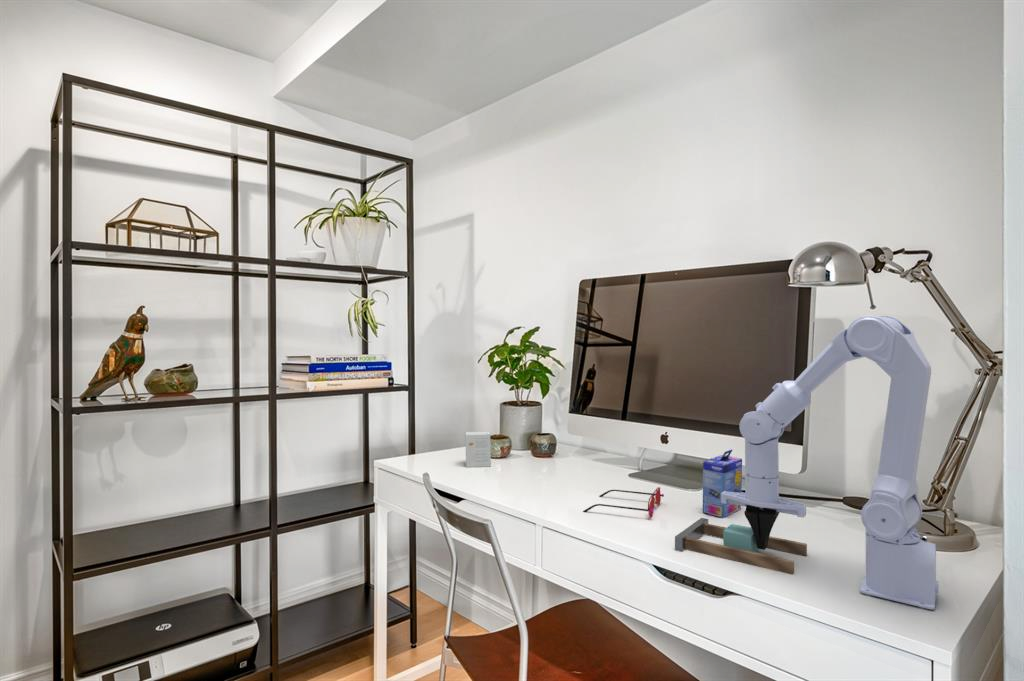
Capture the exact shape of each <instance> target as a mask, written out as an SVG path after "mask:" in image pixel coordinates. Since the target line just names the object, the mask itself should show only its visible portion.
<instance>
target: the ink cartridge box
mask: <svg viewBox="0 0 1024 681" xmlns="http://www.w3.org/2000/svg"><path fill="white" fill-rule="evenodd" d="M732 452H733V449H729V450H726V451H724V453H722V455H718V456H715V457H713V458H712V457H711V458H709V459H706V460H704V461H703V462H702V513H703V514H706V513H707V514H706V515H711V516H714V517H717V516H718V517H717V518H721V517H722V518H721V519H724V518H726V517H728V516H730V515H732V514H734V513H736V512H738V511H740V510H741V509H742V506H741V505H735V504H729V503H727V504H723V503H721V493H722V492H724V491H727V492H736V493H742V488H743V487H742V486H743V485H742V483H743V458H739V457H737V456H731V453H732Z"/></svg>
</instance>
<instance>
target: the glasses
mask: <svg viewBox="0 0 1024 681" xmlns="http://www.w3.org/2000/svg"><path fill="white" fill-rule="evenodd" d="M611 492H620V493H631V494H638V495H639V494H640V495H647V496H648V495H649V496H650V497H649V498H648V502H647V508H638V507H630V506H622V505H614V504H613V505H612V504H603V503H597V504H593V505H591V506H589V507H587V508H586V509H584V510H582V513H587V512H588V511H590V510H591V509H593V508H594V507H597V506H602V507H607V508H609V507H611V508H619V509H624V510H633V511H644V512H648V515H649V517H650V518H652V517H653V515H654V508H655V505H657V506H660V505H661V501H662V500H661V499H662V498H663V497H664V496H665V494H664V493H661V487H660V486H659V487H656V488H655V490H654V491H653V492H652V493H651V492H641V491H633V490H632V491H631V490H621V489H610V490H607V491H605V492H603V493H602V494H600V495H598V497H600V498H602V497H604V496H605V495H607V494H609V493H611Z"/></svg>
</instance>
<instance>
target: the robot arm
mask: <svg viewBox="0 0 1024 681" xmlns="http://www.w3.org/2000/svg"><path fill="white" fill-rule="evenodd" d="M862 358H866V359H868V360H870V361H872V362H874V363H876V365H878V366H879V368H881V369H882V370H883V371H884V372H885V373H886V374H887V375H888V376H889V378H890V385H889V391H888V392H889V393H888V400H887V404H886V405H887V407H886V414H885V418H884V419H885V421H884V428H883V433H882V434H883V436H882V442H881V449H880V457H879V463H878V471H877V476H876V479H875V481H874V483H873V485H872V487H871V492H870V497H869V499H868V501H867V502H866V503H865V504H864V505H863V506H862V508H861V512H860V518H861V522H862V524H863V526H864V528H865V530H864V531H865V532H864V533H865V534H864V535H865V536H864V537H865V575H864V578H863V581H862V583H861V586H860V589H859V592H860V593H861V594H865V595H868V596H872V597H873V596H874V597H878V598H882V599H885V600H889V601H895V602H896V603H897V602H898V603H903V604H906V605H910V606H915V607H919V608H923V609H927V610H931V611H933V610H935V606H936V599H937V594H939V581H938V580H937V547H936V546H937V545H936V543H933V542H930V541H929V542H928V541H925V540H922V539H921V535H920V534H919V532H918V530H917V528H916V527H915V526H916V525H917V524H918V523H919V522H920V520H921V519H922V516H923V509H922V508H923V507H922V505H921V503H920V501H919V496H918V493H919V492H918V491H919V485H918V482H917V480H916V479H917V474H918V473H917V472H918V466H919V459H920V453H921V452H920V451H921V445H922V437H923V431H924V423H925V417H926V411H927V410H926V409H927V404H928V398H929V389H930V384H931V383H930V382H931V375H932V367H931V364H930V362H929V361H928V359H927V357H926V355H925V354H924V352H923V351H922V348H921V347H920V345H919V344H918V341H917V340H916V337H915V334H914V331H913V330H912V329H911V328H909V327H908V326H907V325H906V324H904V323H903V322H902V321H901V320H899V319H898V318H895V317H892V316H887V315H886V316H885V315H884V316H875V315H864V316H863V315H862V316H860V317H857V318H855V319H854V320H853V321H852V322H851V323H850V325H849V326H848V328H845V329H843V330H841V331H840V332H839V333H837V334H836V336H835V337H834V338H833V339H832V340H831V341H830V342H829V344H827V346H826V347H825V348H824V349H823V350H822V351H821V352H820V353H819V354H818V355H817V356H816V357H815V358H814V360H812V361H811V362H810V364H809V365H808V366H807V367H806V368H805V369H804V370H803V371H802V372H801V373H800V374H799V376H798V377H796V379H795V380H784V381H782V383H781V382H777V383H775V384H774V385H773V386H772V387H771V389H773V391H772V392H771V393H770V394H769V395H768V396H767V397H766V398H765V399H764V400H763V401H762V402H761V401H760V402H758V403H756V404H755V406H754V407H755V408H756V410H754V411H748V412H746V413H744V414H743V417H742V418H741V419H740V422H739V428H738V429H739V432H740V435H741V436H742V437H743V439H744V474H745V476H744V477H745V478H744V482H745V486H744V487H745V488H744V489H745V492H741V493H736V492H727V491H724V492H722V493H721V503H723V504H727V503H729V504H735V505H741V507H745V510H744V516H745V518H746V519H747V522H748V523H749V525H750V527H751V528H752V530H753V533H754V536H755V540H756V544H757V548H758V549H759V550H762V551H766V549H768V548H767V546H768V540H769V536H771V532H772V529H773V527H774V524H775V522H776V521H777V519H778V516H779V514H780V513H782V514H788V515H793V516H797V517H798V518H803V519H804V518H805V517H806V516H807V504H805V503H800V502H795V501H791V500H788V499H784V498H780V493H779V492H780V490H779V489H780V488H779V486H780V485H779V484H780V483H779V482H780V480H779V479H780V478H779V475H780V474H779V470H780V469H779V468H780V467H779V465H780V464H779V462H780V461H779V459H780V458H779V456H780V455H779V439H780V437H782V435H783V433H784V431H785V427H788V426H789V425H790V424H791V423H792V422H793V421H794V420H795V418H797V417H798V416H799V415H800V414H801V413H802V412H803V411H804V410H805V409H806V408H807V407H809V406H810V405H811V401H812V398H811V395H812V392H813V391H815V390H816V389H817V388H818V387H819V386H820V385H821V384H824V382H825V381H826V380H827V379H828V378H829V377H831V376H832V375H833V374H834V373H835V372H836V371H838V370H839V369H840V368H841V367H842V366H843V365H845V364H846V363H849V362H851V361H854V360H858V359H862Z"/></svg>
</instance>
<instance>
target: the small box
mask: <svg viewBox="0 0 1024 681" xmlns="http://www.w3.org/2000/svg"><path fill="white" fill-rule="evenodd" d="M464 438H465V467H466V468H487V467H492V459H491V458H492V456H491V455H492V454H491V453H492V452H491V450H492V449H491V448H492V447H491V445H492V444H491V433H490V430H487V431H486V430H485V431H480V430H479V431H466V432H465V437H464Z"/></svg>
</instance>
